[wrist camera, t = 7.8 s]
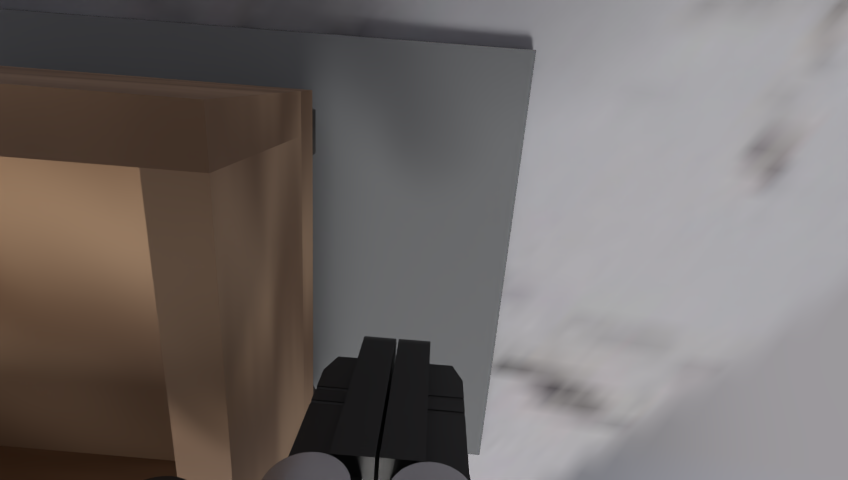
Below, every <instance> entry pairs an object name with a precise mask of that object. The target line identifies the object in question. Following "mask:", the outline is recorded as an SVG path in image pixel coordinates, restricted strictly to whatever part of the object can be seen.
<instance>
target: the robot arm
mask: <svg viewBox="0 0 848 480" xmlns="http://www.w3.org/2000/svg"><path fill="white" fill-rule="evenodd" d="M396 344H397V340H396V339H394V338H382V337H370V336H364V339H363V342H362V345H361V349H360V352H359V355H358V358H352V357H340V356H338V357H337V358H336V359H335V360H334V361H333V362H331V363H330V364H329V365H328V366H327V367H326V368H325V369H323V372H322V374H321V377H320V379H319V382H318V384H317V389H315V392H314V394H313V397H312V399H311V403H310V404H309V407H308V409H307V411H306V414H305V416H304V419H303V421H302V424H301V426H300V429H299V431H298V434H297V436H296V439H295V441H294V444H293V446H292V449H291V451H290V453H289V456H288V457H287V458H284V459H283V460H281V461H279V462H278V463H276V464H275V465H274V466H272V467H271V468H270V469H269V470H268V471H267V473H266V474H265V475H264V477H263V478H262V480H470V475H469V465H468V450H467V436H466V421H465V406H464V392H463V381H462V379H461V378H460V376H459V375H458V373H457V372H456V370H455V369H454V367H453V366H449V365H437V364H430V341H420V340H408V339H399V341H398V347H397V353H396ZM145 480H186V479H183V478H180V477H175V476H159V477H153V478H149V479H145Z"/></svg>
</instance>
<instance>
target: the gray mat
mask: <svg viewBox="0 0 848 480" xmlns="http://www.w3.org/2000/svg"><path fill="white" fill-rule="evenodd" d="M535 54H536V50H528V49H515V48H502V47H489V46H476V45H463V44H450V43H437V42H424V41H411V40H398V39H385V38H372V37H360V36H347V35H334V34H321V33H308V32H295V31H282V30H269V29H256V28H243V27H230V26H217V25H204V24H191V23H178V22H165V21H152V20H140V19H127V18H114V17H101V16H88V15H75V14H62V13H49V12H36V11H23V10H10V9H0V66H11V67H24V68H37V69H49V70H62V71H75V72H88V73H100V74H113V75H126V76H139V77H151V78H164V79H177V80H189V81H202V82H215V83H228V84H240V85H253V86H266V87H279V88H291V89H304V90H312V108H313V109H315V110H316V152H315V154H314V155H313V385H314V387H315V389H317V384H318V382H319V379H320V377H321V374H322V372H323V369H325V368H326V367H327V366H328V365H329V364H330V363H331V362H333V361H334V360H335V359H336V358H337V357H338V356H340V357H352V358H358V355H359V352H360V349H361V345H362V342H363V339H364V336H370V337H382V338H394V339H396V340H397V344H396V353H397V347H398V341H399V339H408V340H420V341H430V364H437V365H449V366H453V367H454V369H455V370H456V372H457V373H458V375H459V376H460V378H461V379H462V381H463V392H464V406H465V421H466V436H467V450H468V454H475V455H479V453H480V446H481V439H482V432H483V425H484V417H485V410H486V403H487V396H488V389H489V382H490V375H491V367H492V360H493V353H494V346H495V339H496V332H497V325H498V318H499V310H500V303H501V296H502V289H503V282H504V275H505V268H506V261H507V253H508V246H509V239H510V232H511V225H512V218H513V211H514V203H515V196H516V189H517V182H518V175H519V168H520V161H521V154H522V146H523V139H524V132H525V125H526V118H527V111H528V104H529V97H530V89H531V82H532V75H533V68H534V61H535Z"/></svg>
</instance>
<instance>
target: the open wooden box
mask: <svg viewBox="0 0 848 480" xmlns="http://www.w3.org/2000/svg"><path fill="white" fill-rule="evenodd" d="M315 152H316V110H315V109H313V108H312V90H304V89H291V88H279V87H266V86H253V85H240V84H228V83H215V82H202V81H189V80H177V79H164V78H151V77H139V76H126V75H113V74H100V73H88V72H75V71H62V70H49V69H37V68H24V67H11V66H0V480H145V479H149V478H153V477H159V476H175V477H180V478H183V479H186V480H262V478H263V477H264V475H265V474H266V473H267V471H268V470H269V469H270V468H271V467H272V466H274V465H275V464H276V463H278V462H279V461H281V460H283V459H284V458H287V457H288V456H289V453H290V451H291V449H292V446H293V444H294V441H295V439H296V436H297V434H298V431H299V429H300V426H301V424H302V421H303V419H304V416H305V414H306V411H307V409H308V407H309V404H310V403H311V399H312V397H313V394H314V392H315V387H314V385H313V155H314V154H315Z"/></svg>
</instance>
